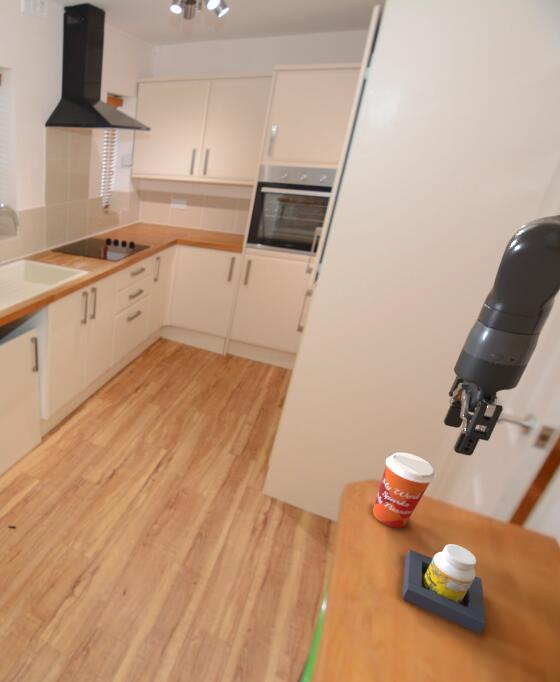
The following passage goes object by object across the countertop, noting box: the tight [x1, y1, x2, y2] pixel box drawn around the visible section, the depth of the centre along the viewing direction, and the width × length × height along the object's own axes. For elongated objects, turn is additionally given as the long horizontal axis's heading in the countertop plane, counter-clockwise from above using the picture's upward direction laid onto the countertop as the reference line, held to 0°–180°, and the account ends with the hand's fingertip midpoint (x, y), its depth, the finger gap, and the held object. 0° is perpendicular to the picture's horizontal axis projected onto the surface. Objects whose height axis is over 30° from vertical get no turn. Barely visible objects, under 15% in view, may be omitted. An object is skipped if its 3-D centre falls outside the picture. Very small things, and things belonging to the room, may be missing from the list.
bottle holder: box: [402, 549, 487, 635], centre depth 78 cm, size 10×10×2 cm
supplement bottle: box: [422, 543, 477, 604], centre depth 76 cm, size 5×5×10 cm
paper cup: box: [372, 451, 437, 529], centre depth 90 cm, size 8×8×14 cm
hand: (456, 438), depth 76 cm, fingers open, 8 cm apart
